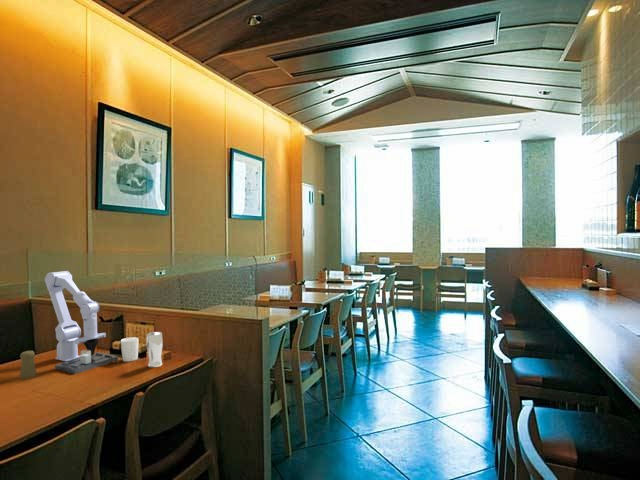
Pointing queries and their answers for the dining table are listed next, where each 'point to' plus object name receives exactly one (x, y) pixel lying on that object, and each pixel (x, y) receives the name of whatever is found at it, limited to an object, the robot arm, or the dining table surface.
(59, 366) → the console
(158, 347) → the beer glass
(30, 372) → the tan bulb-headed cylinder
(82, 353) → the fader cream
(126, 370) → the dining table surface
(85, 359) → the fader bluegrey
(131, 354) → the white cup
